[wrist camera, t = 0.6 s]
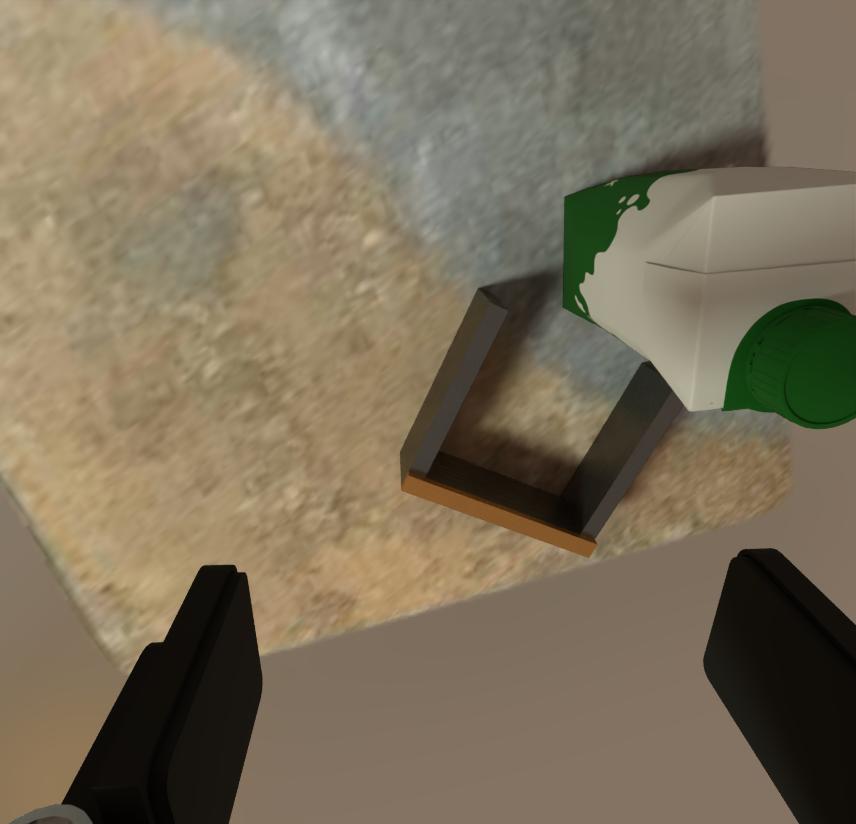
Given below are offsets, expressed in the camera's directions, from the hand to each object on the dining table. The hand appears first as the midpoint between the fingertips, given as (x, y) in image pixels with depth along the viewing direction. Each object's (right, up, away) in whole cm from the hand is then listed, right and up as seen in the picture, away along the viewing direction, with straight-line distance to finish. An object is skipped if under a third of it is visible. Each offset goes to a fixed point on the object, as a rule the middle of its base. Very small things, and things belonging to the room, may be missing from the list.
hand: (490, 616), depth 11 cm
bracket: (+6, +5, +29) cm, 30 cm away
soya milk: (+11, +15, +26) cm, 32 cm away
